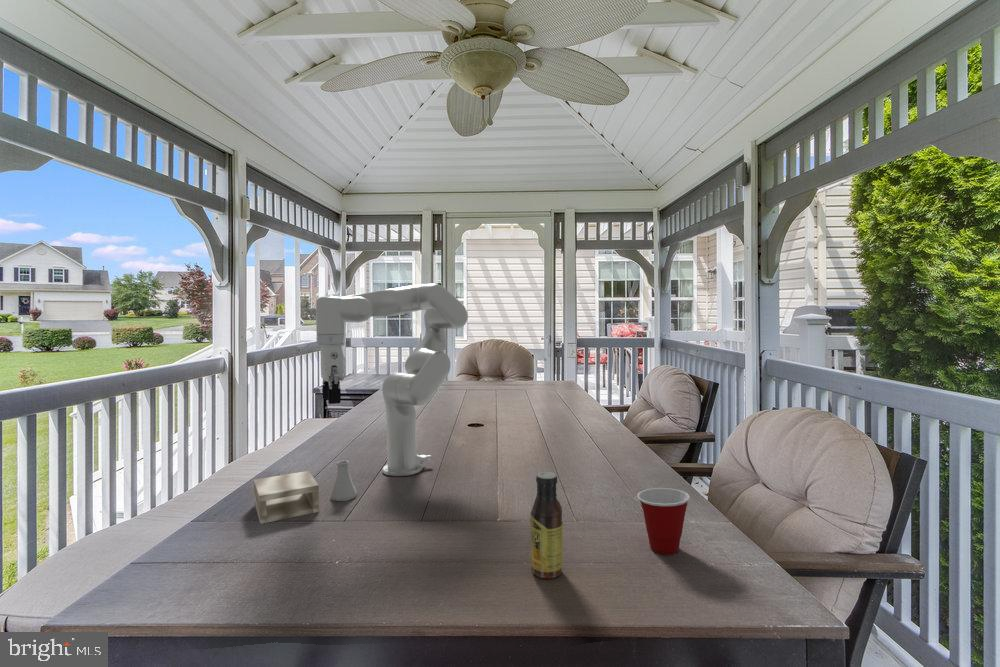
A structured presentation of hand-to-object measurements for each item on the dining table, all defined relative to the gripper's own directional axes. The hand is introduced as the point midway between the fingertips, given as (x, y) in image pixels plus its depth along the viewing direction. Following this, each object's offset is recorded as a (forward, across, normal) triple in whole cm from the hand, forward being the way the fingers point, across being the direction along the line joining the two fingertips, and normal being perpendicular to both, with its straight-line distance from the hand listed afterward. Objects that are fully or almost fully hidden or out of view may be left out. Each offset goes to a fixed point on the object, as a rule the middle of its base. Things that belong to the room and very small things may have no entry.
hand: (331, 400), depth 147 cm
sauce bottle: (+27, -67, -29) cm, 78 cm away
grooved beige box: (+27, -5, +13) cm, 30 cm away
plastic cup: (+26, -71, -56) cm, 94 cm away
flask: (+27, -5, -2) cm, 27 cm away
